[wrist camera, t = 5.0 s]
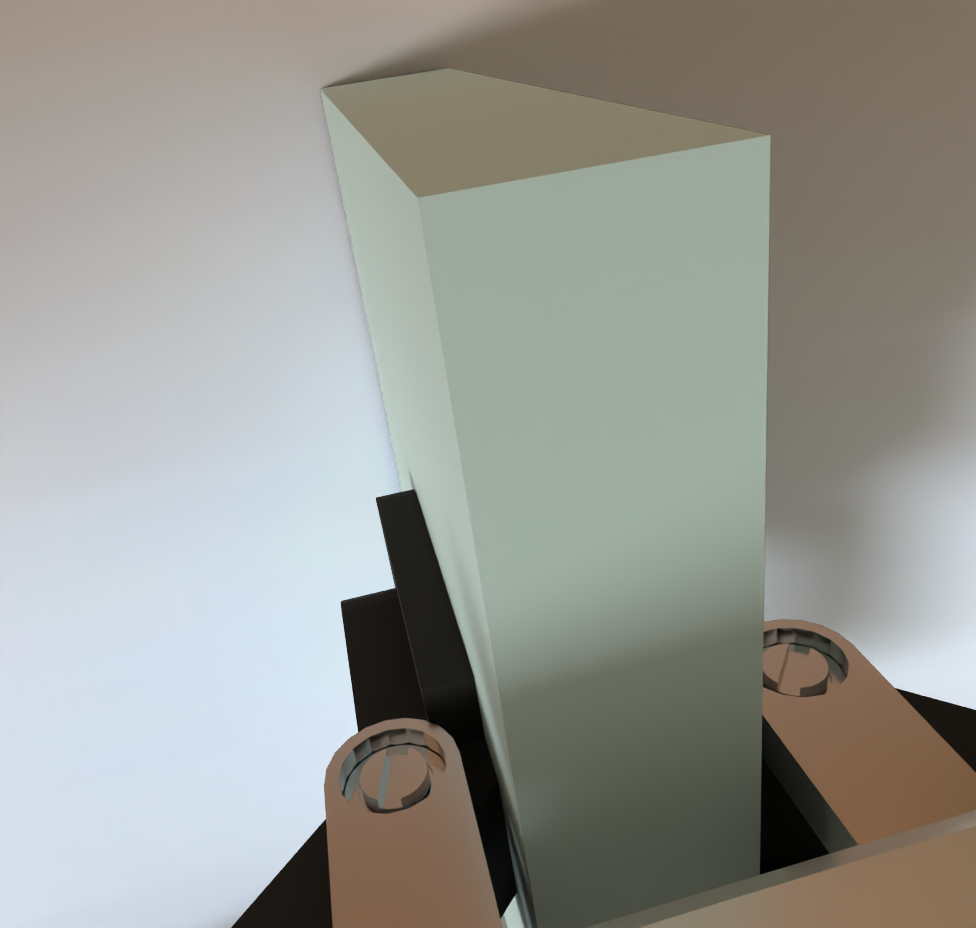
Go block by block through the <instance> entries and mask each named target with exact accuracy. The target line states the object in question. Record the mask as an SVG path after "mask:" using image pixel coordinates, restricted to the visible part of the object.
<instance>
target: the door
mask: <svg viewBox="0 0 976 928" xmlns="http://www.w3.org/2000/svg"><path fill="white" fill-rule="evenodd" d="M320 92H321V97H322V102H323V107H324V112H325V117H326V122H327V127H328V132H329V137H330V142H331V147H332V152H333V156H334V161H335V166H336V171H337V176H338V181H339V186H340V191H341V196H342V201H343V206H344V211H345V216H346V221H347V225H348V230H349V235H350V240H351V245H352V250H353V255H354V260H355V265H356V270H357V275H358V280H359V285H360V290H361V295H362V299H363V304H364V309H365V314H366V319H367V324H368V329H369V334H370V339H371V344H372V349H373V354H374V359H375V364H376V368H377V373H378V378H379V383H380V388H381V393H382V398H383V403H384V408H385V413H386V418H387V423H388V428H389V433H390V437H391V442H392V447H393V452H394V457H395V462H396V467H397V472H398V477H399V482H400V487H401V492H404V491H408V490H412V489H414V491H415V494H416V497H417V500H418V503H419V506H420V509H421V513H422V516H423V519H424V522H425V525H426V528H427V531H428V535H429V538H430V541H431V544H432V547H433V550H434V553H435V556H436V559H437V563H438V566H439V569H440V572H441V575H442V578H443V581H444V584H445V587H446V591H447V594H448V597H449V600H450V603H451V606H452V609H453V612H454V615H455V619H456V622H457V625H458V628H459V631H460V634H461V637H462V640H463V643H464V647H465V650H466V653H467V656H468V659H469V662H470V665H471V668H472V671H473V675H474V679H475V684H476V690H477V696H478V701H479V707H480V712H481V718H482V724H483V729H484V735H485V740H486V743H487V746H488V749H489V753H490V756H491V759H492V762H493V766H494V769H495V772H496V775H497V779H498V783H499V789H500V794H501V800H502V806H503V812H504V818H505V823H506V829H507V835H508V841H509V847H510V852H511V858H512V864H513V870H514V876H515V881H516V887H517V893H516V895H515V896H514V898H513V900H512V901H511V903H510V905H509V906H508V908H507V909H506V911H505V913H504V914H503V916H502V917H501V924H502V928H587V927H590V926H594V925H597V924H600V923H603V922H606V921H610V920H613V919H616V918H620V917H623V916H626V915H629V914H633V913H636V912H639V911H643V910H646V909H649V908H653V907H656V906H659V905H662V904H666V903H669V902H672V901H676V900H679V899H682V898H685V897H689V896H692V895H695V894H699V893H702V892H705V891H708V890H712V889H715V888H718V887H722V886H725V885H728V884H731V883H735V882H738V881H741V880H745V879H748V878H751V877H755V876H758V875H760V830H761V762H762V693H763V625H764V556H765V487H766V419H767V350H768V281H769V213H770V144H771V135H768V134H763V133H758V132H753V131H749V130H744V129H739V128H734V127H729V126H725V125H720V124H715V123H710V122H705V121H701V120H696V119H691V118H686V117H681V116H677V115H672V114H667V113H662V112H657V111H653V110H648V109H643V108H638V107H633V106H629V105H624V104H619V103H614V102H609V101H605V100H600V99H595V98H590V97H585V96H580V95H576V94H571V93H566V92H561V91H556V90H552V89H547V88H542V87H537V86H532V85H528V84H523V83H518V82H513V81H508V80H504V79H499V78H494V77H489V76H484V75H480V74H475V73H470V72H465V71H460V70H456V69H451V68H446V69H440V70H434V71H427V72H421V73H415V74H408V75H402V76H396V77H389V78H383V79H377V80H371V81H364V82H358V83H352V84H345V85H339V86H333V87H326V88H320Z"/></svg>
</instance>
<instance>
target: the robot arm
mask: <svg viewBox="0 0 976 928" xmlns="http://www.w3.org/2000/svg"><path fill="white" fill-rule="evenodd" d="M376 502H377V506H378V511H379V515H380V520H381V524H382V529H383V534H384V538H385V543H386V547H387V552H388V556H389V561H390V565H391V570H392V574H393V579H394V583H395V588H394V589H390V590H386V591H381V592H377V593H373V594H369V595H365V596H361V597H356V598H352V599H348V600H344V601H341V609H342V617H343V624H344V632H345V639H346V646H347V653H348V661H349V668H350V675H351V682H352V690H353V697H354V704H355V712H356V719H357V726H358V733H357V734H355V735H354V736H352V737H350V738H349V739H348V740H347V741H346V742H345V743H344V744H343V745H342V746H341V747H340V748H339V749H338V750H337V751H336V752H335V754H334V756H333V758H332V760H331V761H330V763H329V765H328V767H327V769H326V776H325V783H324V793H325V809H326V819H325V821H324V822H323V823H322V824H321V825H320V826H319V827H318V829H317V830H316V831H315V832H314V833H313V834H312V835H311V837H310V838H309V839H308V840H307V841H306V842H305V844H304V845H303V846H302V847H301V848H300V849H299V850H298V852H297V853H296V854H295V855H294V856H293V857H292V858H291V860H290V861H289V862H288V863H287V864H286V865H285V866H284V868H283V869H282V870H281V871H280V872H279V873H278V875H277V876H276V877H275V878H274V879H273V880H272V881H271V883H270V884H269V885H268V886H267V887H266V888H265V889H264V891H263V892H262V893H261V894H260V895H259V896H258V897H257V899H256V900H255V901H254V902H253V903H252V904H251V906H250V907H249V908H248V909H247V910H246V911H245V912H244V914H243V915H242V916H241V917H240V918H239V919H238V920H237V922H236V923H235V924H234V925H233V926H232V927H231V928H502V924H501V917H502V916H503V914H504V913H505V911H506V909H507V908H508V906H509V905H510V903H511V901H512V900H513V898H514V896H515V895H516V893H517V887H516V881H515V876H514V870H513V864H512V858H511V852H510V847H509V841H508V835H507V829H506V823H505V818H504V812H503V806H502V800H501V794H500V789H499V783H498V779H497V775H496V772H495V769H494V766H493V762H492V759H491V756H490V753H489V749H488V746H487V743H486V740H485V735H484V729H483V724H482V718H481V712H480V707H479V701H478V696H477V690H476V684H475V679H474V675H473V671H472V668H471V665H470V662H469V659H468V656H467V653H466V650H465V647H464V643H463V640H462V637H461V634H460V631H459V628H458V625H457V622H456V619H455V615H454V612H453V609H452V606H451V603H450V600H449V597H448V594H447V591H446V587H445V584H444V581H443V578H442V575H441V572H440V569H439V566H438V563H437V559H436V556H435V553H434V550H433V547H432V544H431V541H430V538H429V535H428V531H427V528H426V525H425V522H424V519H423V516H422V513H421V509H420V506H419V503H418V500H417V497H416V494H415V491H414V489H412V490H408V491H404V492H399V493H395V494H390V495H386V496H381V497H377V498H376ZM587 928H976V710H973V709H970V708H966V707H962V706H959V705H955V704H951V703H948V702H944V701H940V700H937V699H933V698H929V697H926V696H922V695H918V694H915V693H911V692H907V691H904V690H900V689H896V688H894V687H893V686H892V685H891V684H890V683H889V682H888V681H887V680H886V679H885V678H884V677H883V676H882V674H881V673H880V672H879V671H878V670H877V669H876V668H875V667H874V666H873V665H872V664H871V663H870V662H869V661H868V660H867V659H866V658H865V657H864V656H863V655H862V654H861V653H860V652H859V651H858V649H857V648H856V647H855V646H854V645H853V644H852V643H850V642H849V641H848V640H846V639H845V638H844V637H843V636H841V635H840V634H839V633H837V632H835V631H833V630H830V629H828V628H826V627H824V626H822V625H819V624H815V623H810V622H806V621H802V620H785V619H779V620H773V621H767V622H764V625H763V693H762V762H761V830H760V875H758V876H755V877H751V878H748V879H745V880H741V881H738V882H735V883H731V884H728V885H725V886H722V887H718V888H715V889H712V890H708V891H705V892H702V893H699V894H695V895H692V896H689V897H685V898H682V899H679V900H676V901H672V902H669V903H666V904H662V905H659V906H656V907H653V908H649V909H646V910H643V911H639V912H636V913H633V914H629V915H626V916H623V917H620V918H616V919H613V920H610V921H606V922H603V923H600V924H597V925H594V926H590V927H587Z"/></svg>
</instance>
